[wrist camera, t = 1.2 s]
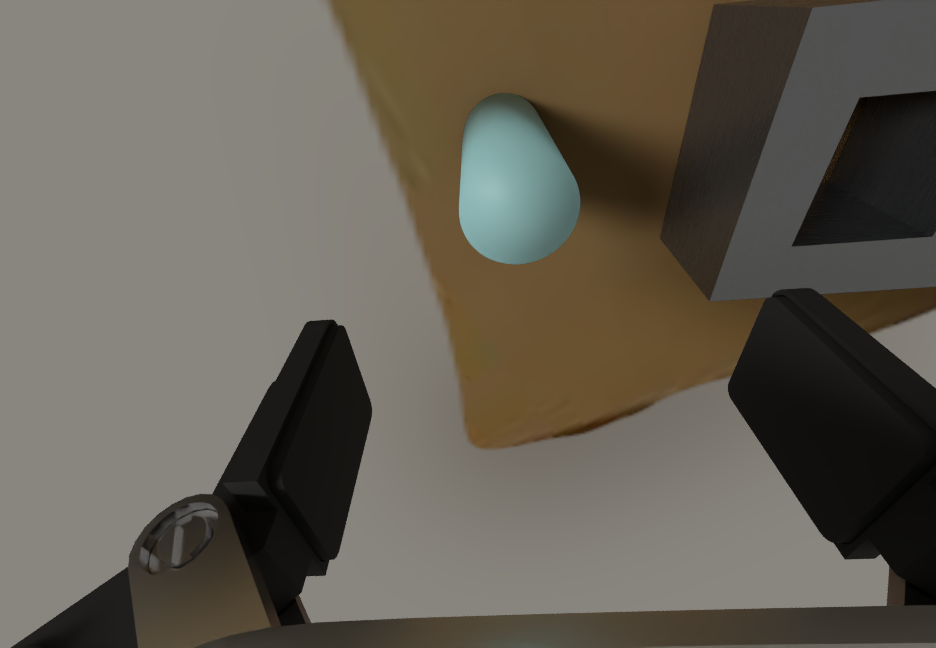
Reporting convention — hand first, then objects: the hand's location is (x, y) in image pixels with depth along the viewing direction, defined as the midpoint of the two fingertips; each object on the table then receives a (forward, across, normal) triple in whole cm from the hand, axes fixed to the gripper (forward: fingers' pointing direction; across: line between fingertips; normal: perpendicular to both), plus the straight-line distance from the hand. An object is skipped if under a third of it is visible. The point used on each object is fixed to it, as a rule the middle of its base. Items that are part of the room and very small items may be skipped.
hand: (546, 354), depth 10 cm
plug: (+17, 0, -1) cm, 17 cm away
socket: (+17, -16, 0) cm, 23 cm away
